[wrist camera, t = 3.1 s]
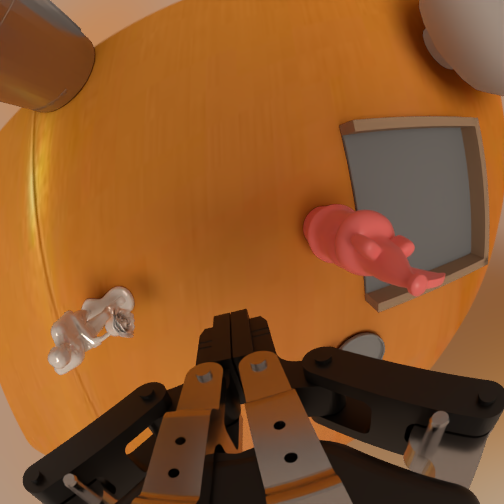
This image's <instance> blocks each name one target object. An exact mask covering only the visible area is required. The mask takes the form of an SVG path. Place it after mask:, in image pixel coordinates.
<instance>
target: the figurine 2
mask: <svg viewBox="0 0 504 504" xmlns="http://www.w3.org/2000/svg"><path fill="white" fill-rule="evenodd" d="M303 231H304V235H305V238H306V239H307V241H308V242H309V245H310V248H311V250H312V251H313V253H314V254H315V255H316V256H317V257H318V258H319V259H321V260H323V261H325V262H328V263H334V264H336V265H337V266H339V267H341V268H343V269H345V270H347V271H348V272H350V273H353V274H356V275H360V276H374V277H375V278H377V279H379V280H380V281H383V282H386V283H389V284H392V285H395V286H398V287H403V288H407V290H408V292H409V293H410V294H411V295H413V296H420V295H421V294H423V293H424V292H425V290H426V289H429V288H434V287H437V286H440V285H442V284H443V282H444V279H445V275H446V273H436V272H431V271H426V270H422V269H417V268H413V267H411V266H410V264H409V261H408V259H407V257H409V256H410V255H411V254H412V253H413V252H414V250H415V246H414V244H413V242H412V241H410V240H409V239H407V238H406V237H404V236H402V235H397V236H395V232H394V229H393V226H392V224H391V222H390V221H389V220H388V219H387V218H386V217H385V216H384V215H382V214H381V213H379V212H376V211H373V210H359V211H353V210H352V209H351V208H349V207H347V206H345V205H340V204H333V205H328V206H320V207H317V208H315V209H313V210H312V211H310V212H309V214H308V215H307V216H306V218H305V221H304V225H303Z"/></svg>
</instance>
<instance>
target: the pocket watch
mask: <svg viewBox="0 0 504 504" xmlns="http://www.w3.org/2000/svg"><path fill="white" fill-rule="evenodd" d="M339 349H341V350H345V351H349V352H353V353H357V354H360V355H364V356H368V357H372V358H376V359H380V360H382V358H383V355H384V352H385V345H384V342H383V340H382V339H381V338H380V337H379V336H378V335H376V334H374V333H361V334H358V335H355V336H353V337H352V338H350V339H348V340H347V341H346V342H345V343H344V344H343V345H342V346H341V347H340V348H339Z"/></svg>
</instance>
